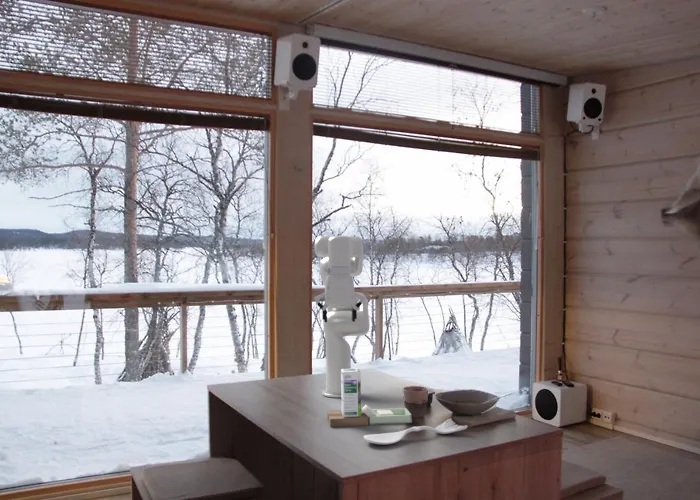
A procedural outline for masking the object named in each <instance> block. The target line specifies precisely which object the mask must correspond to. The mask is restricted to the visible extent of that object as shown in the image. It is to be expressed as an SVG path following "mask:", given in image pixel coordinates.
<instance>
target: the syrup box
mask: <svg viewBox="0 0 700 500" xmlns="http://www.w3.org/2000/svg"><path fill="white" fill-rule="evenodd" d="M361 377H362V376H361V370H360V368H359V367H358V368H351V369H341V397H340V399H341V403H340V404H341V408H340V410H341V411H342V415H343V417H361V409H362V397H361V396H362V389H361V385H362V383H361V381H362V378H361Z"/></svg>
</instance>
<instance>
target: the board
mask: <svg viewBox="0 0 700 500" xmlns="http://www.w3.org/2000/svg"><path fill="white" fill-rule="evenodd" d="M326 415H327V417H326V418H327V422H328V425H329V427H330V428H334V427H335V428H339V427H359V426H360V427H362V426H364V427H365V426H369V423H368V416H367V415H366V414H365V413H364V412H363V410H362V408H361V417H343V415H342V411H341V409H336V410H335V409H334V410H327V411H326Z"/></svg>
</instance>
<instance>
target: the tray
mask: <svg viewBox="0 0 700 500" xmlns="http://www.w3.org/2000/svg"><path fill="white" fill-rule="evenodd" d="M371 409H372V408H371ZM372 410H373V411H374V412H375V413H376V414H377V411H379V410H391V411H392V412H393V415H392V416H369V417H368V425H369V426H373V425H377V426H378V425H398V424H412V423H413V415H412V413H411V412H410V411H409V410H408V408H406V407H395V408H373V409H372Z"/></svg>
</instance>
